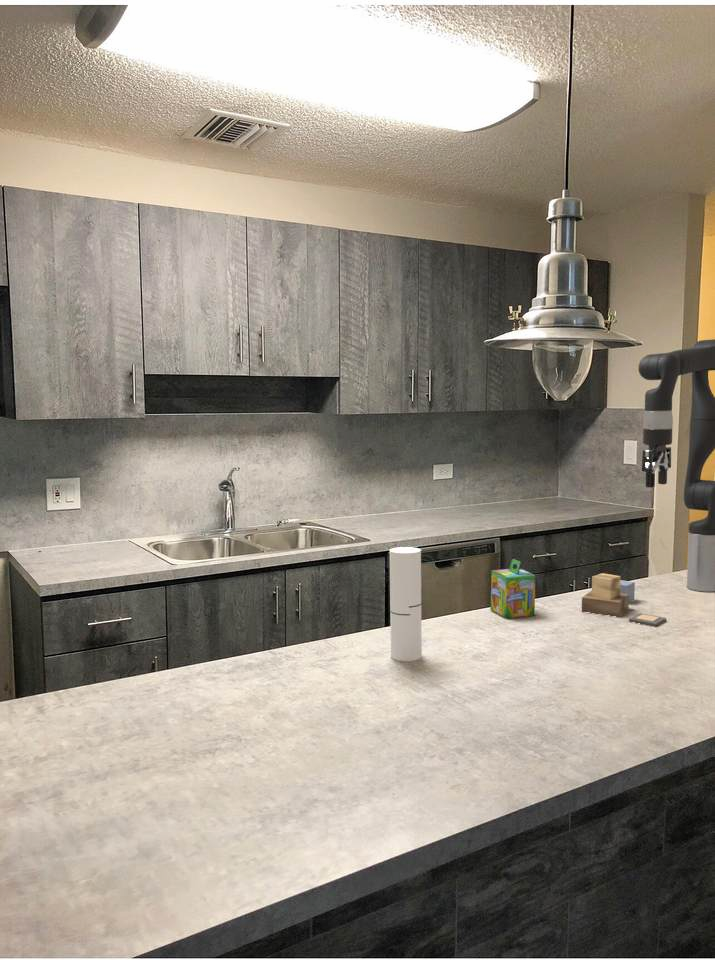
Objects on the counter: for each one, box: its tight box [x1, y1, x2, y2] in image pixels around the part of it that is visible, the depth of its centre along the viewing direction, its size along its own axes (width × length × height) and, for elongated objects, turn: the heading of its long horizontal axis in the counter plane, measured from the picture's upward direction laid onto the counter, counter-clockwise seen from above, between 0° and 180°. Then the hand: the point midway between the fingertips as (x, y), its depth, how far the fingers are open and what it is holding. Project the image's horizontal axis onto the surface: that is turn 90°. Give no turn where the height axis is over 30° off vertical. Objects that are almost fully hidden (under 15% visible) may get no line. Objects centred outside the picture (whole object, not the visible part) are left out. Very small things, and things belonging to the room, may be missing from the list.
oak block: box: [591, 572, 621, 600], centre depth 211 cm, size 6×6×6 cm
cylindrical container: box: [389, 546, 423, 662], centre depth 176 cm, size 7×7×25 cm
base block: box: [581, 590, 630, 618], centre depth 212 cm, size 10×10×4 cm
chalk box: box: [490, 558, 537, 620], centre depth 210 cm, size 9×9×15 cm
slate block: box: [620, 579, 636, 603], centre depth 221 cm, size 6×6×6 cm
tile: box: [628, 612, 667, 628], centre depth 201 cm, size 7×7×1 cm
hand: (656, 485), depth 212 cm, fingers open, 8 cm apart
